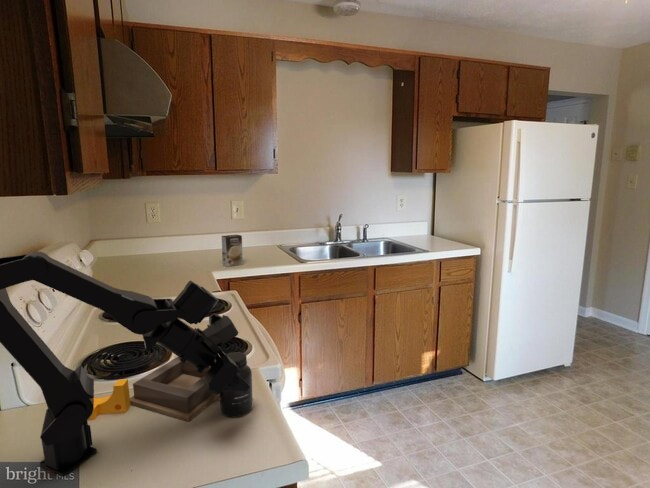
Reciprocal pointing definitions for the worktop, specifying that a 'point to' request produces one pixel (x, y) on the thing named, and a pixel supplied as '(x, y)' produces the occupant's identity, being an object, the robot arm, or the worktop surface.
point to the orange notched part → (113, 400)
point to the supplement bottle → (238, 400)
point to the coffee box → (232, 250)
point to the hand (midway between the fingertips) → (241, 378)
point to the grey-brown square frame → (174, 391)
